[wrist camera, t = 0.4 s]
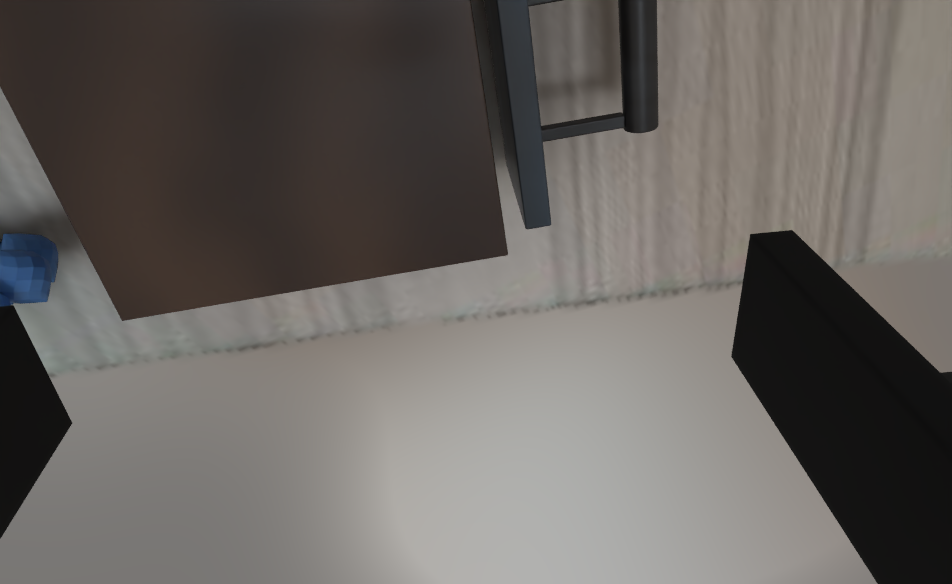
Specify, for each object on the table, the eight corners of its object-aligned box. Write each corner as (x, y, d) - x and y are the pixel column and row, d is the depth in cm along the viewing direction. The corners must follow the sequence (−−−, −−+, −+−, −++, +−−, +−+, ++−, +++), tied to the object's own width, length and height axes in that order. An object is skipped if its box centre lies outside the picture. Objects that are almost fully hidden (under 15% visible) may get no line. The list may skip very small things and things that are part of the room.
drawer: (622, -119, 32) (678, -113, 25) (631, 144, 38) (677, 204, 32) (141, -32, 32) (69, -3, 25) (233, 213, 39) (195, 287, 32)
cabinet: (446, -103, 32) (457, -91, 24) (488, 172, 39) (508, 255, 31) (72, -35, 32) (-46, 0, 24) (183, 225, 40) (121, 321, 31)
